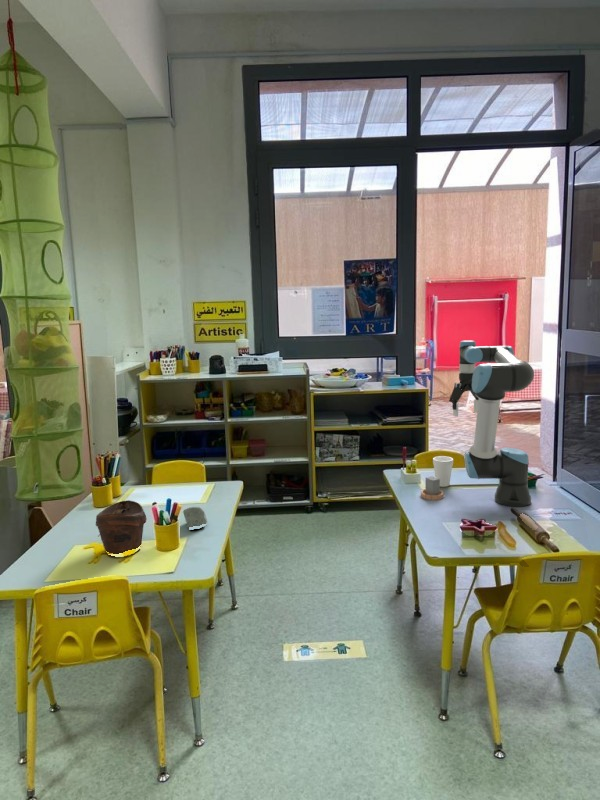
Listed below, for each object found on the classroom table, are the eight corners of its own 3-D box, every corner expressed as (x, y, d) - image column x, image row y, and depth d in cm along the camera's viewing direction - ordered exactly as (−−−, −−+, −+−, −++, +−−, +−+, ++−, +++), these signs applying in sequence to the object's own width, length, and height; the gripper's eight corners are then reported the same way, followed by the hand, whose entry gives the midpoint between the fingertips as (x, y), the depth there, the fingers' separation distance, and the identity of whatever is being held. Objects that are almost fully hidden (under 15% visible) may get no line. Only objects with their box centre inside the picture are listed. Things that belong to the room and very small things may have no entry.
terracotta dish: (448, 497, 253) (448, 493, 253) (430, 501, 249) (430, 497, 248) (433, 491, 262) (433, 487, 262) (416, 495, 258) (416, 490, 257)
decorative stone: (203, 534, 221) (211, 510, 225) (176, 525, 221) (186, 501, 224) (203, 537, 233) (211, 514, 237) (178, 529, 233) (187, 506, 236)
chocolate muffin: (136, 534, 222) (131, 492, 219) (157, 551, 207) (153, 506, 203) (91, 548, 211) (85, 504, 208) (110, 567, 196) (104, 519, 192)
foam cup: (429, 482, 274) (429, 457, 272) (445, 480, 277) (446, 455, 274) (439, 488, 265) (439, 462, 263) (456, 486, 268) (457, 460, 266)
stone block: (439, 495, 254) (439, 479, 253) (432, 497, 252) (432, 480, 251) (432, 492, 259) (432, 476, 257) (425, 494, 257) (425, 477, 255)
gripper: (480, 369, 283) (479, 410, 287) (442, 373, 272) (441, 416, 276) (491, 370, 277) (490, 412, 280) (453, 375, 265) (452, 418, 269)
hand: (466, 414), depth 278 cm, fingers open, 13 cm apart
